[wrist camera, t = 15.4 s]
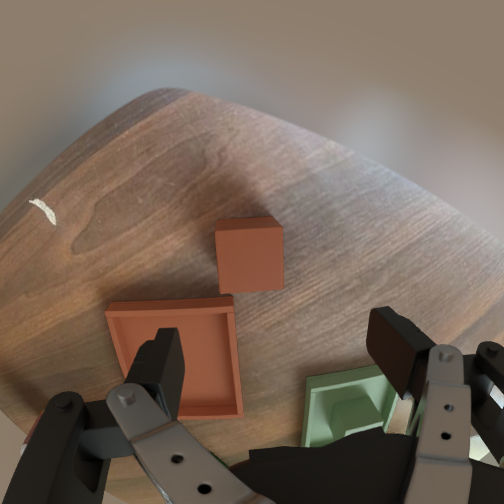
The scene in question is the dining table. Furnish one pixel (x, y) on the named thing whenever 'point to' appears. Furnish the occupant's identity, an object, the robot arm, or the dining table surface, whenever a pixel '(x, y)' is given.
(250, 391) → the dining table surface
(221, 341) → the terracotta tray
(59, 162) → the dining table surface
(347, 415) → the sage block
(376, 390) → the sage tray
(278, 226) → the terracotta block
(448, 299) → the dining table surface
